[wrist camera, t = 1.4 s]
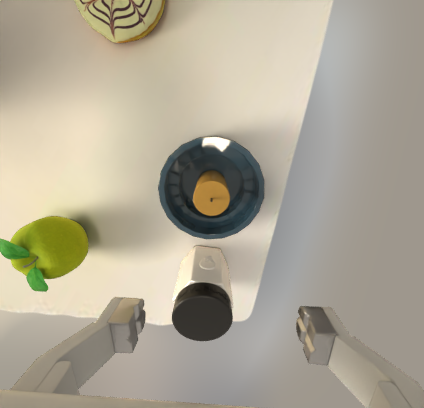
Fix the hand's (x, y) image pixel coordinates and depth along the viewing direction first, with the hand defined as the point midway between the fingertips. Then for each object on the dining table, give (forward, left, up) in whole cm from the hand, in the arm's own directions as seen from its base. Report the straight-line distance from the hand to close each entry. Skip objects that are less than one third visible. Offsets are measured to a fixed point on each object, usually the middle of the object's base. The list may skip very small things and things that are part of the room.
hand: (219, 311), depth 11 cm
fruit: (-2, -26, -24) cm, 36 cm away
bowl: (-1, 0, -24) cm, 24 cm away
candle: (-1, 0, -23) cm, 23 cm away
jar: (+13, -7, -24) cm, 28 cm away
